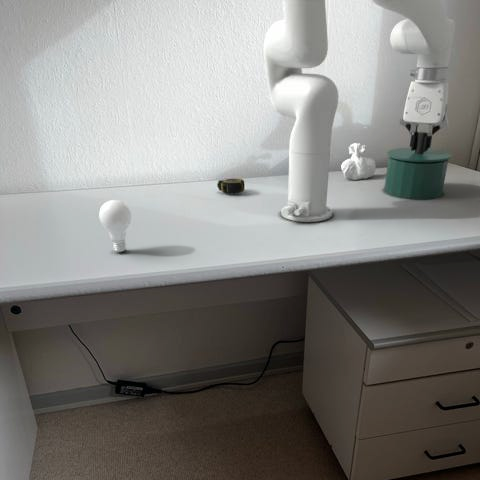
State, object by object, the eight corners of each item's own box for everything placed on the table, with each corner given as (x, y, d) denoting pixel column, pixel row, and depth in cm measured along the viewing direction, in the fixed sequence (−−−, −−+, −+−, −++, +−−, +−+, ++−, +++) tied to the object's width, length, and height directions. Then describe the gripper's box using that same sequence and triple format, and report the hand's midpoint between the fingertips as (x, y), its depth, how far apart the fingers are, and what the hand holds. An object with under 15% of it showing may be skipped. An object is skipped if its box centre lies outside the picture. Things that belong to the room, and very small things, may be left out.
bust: (371, 182, 159) (362, 150, 160) (384, 171, 152) (374, 137, 153) (338, 186, 156) (329, 153, 157) (349, 175, 148) (340, 140, 150)
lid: (442, 167, 126) (447, 139, 123) (378, 160, 134) (381, 134, 131) (457, 155, 139) (461, 129, 135) (397, 149, 146) (400, 125, 143)
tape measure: (238, 189, 147) (238, 176, 145) (248, 194, 141) (248, 181, 139) (217, 191, 144) (216, 178, 143) (226, 197, 139) (225, 184, 137)
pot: (434, 202, 131) (441, 166, 127) (376, 194, 139) (380, 159, 134) (448, 189, 143) (454, 154, 138) (393, 182, 150) (398, 149, 146)
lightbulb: (137, 246, 107) (131, 195, 102) (133, 257, 102) (126, 204, 96) (108, 246, 107) (100, 196, 102) (102, 258, 102) (93, 205, 96)
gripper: (395, 75, 127) (386, 150, 136) (461, 77, 120) (446, 155, 129) (403, 74, 133) (394, 145, 142) (467, 75, 125) (453, 150, 134)
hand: (419, 149), depth 135 cm, fingers closed on lid, 2 cm apart
